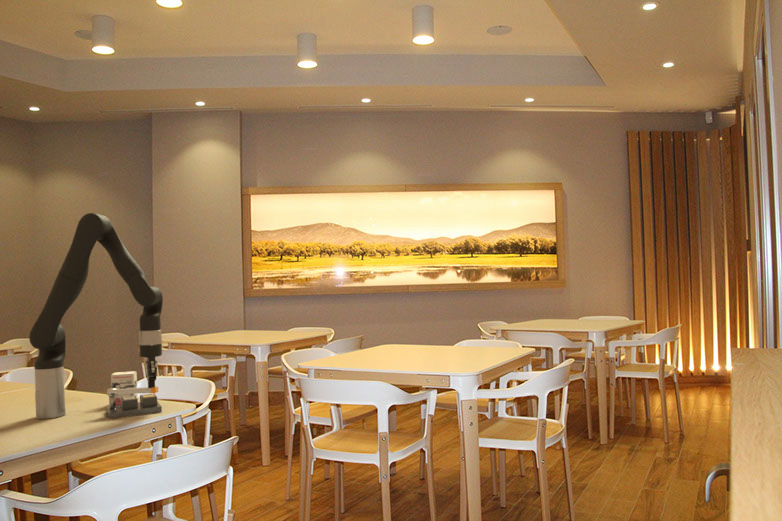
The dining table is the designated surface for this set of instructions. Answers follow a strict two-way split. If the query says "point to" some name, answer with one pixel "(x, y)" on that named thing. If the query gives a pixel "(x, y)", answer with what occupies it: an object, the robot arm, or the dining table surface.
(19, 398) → the dining table surface
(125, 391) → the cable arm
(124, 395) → the ink box
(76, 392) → the dining table surface
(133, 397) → the dark boxy piece
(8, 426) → the dining table surface
